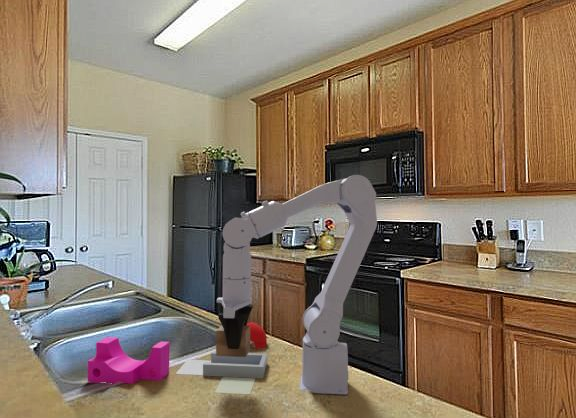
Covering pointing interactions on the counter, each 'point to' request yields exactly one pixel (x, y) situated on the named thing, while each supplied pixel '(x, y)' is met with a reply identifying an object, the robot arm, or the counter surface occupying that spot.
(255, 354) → the trough deck
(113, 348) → the magenta cradle bracket
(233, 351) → the walnut block
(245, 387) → the sage coaster
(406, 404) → the counter surface
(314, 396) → the counter surface
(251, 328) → the red rounded piece
